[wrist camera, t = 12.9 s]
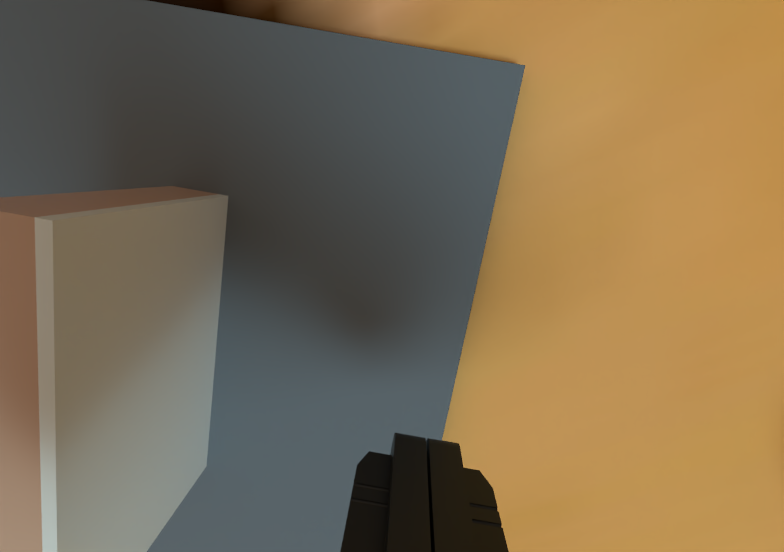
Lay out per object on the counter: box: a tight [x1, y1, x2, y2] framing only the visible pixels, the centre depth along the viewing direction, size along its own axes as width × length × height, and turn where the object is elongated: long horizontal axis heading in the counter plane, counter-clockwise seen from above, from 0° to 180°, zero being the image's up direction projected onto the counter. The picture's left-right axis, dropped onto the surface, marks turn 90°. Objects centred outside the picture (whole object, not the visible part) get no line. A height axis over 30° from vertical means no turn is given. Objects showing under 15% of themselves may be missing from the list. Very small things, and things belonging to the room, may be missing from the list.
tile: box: [0, 186, 228, 552], centre depth 12 cm, size 10×2×7 cm, turn 170°
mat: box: [0, 0, 525, 552], centre depth 15 cm, size 20×18×1 cm
